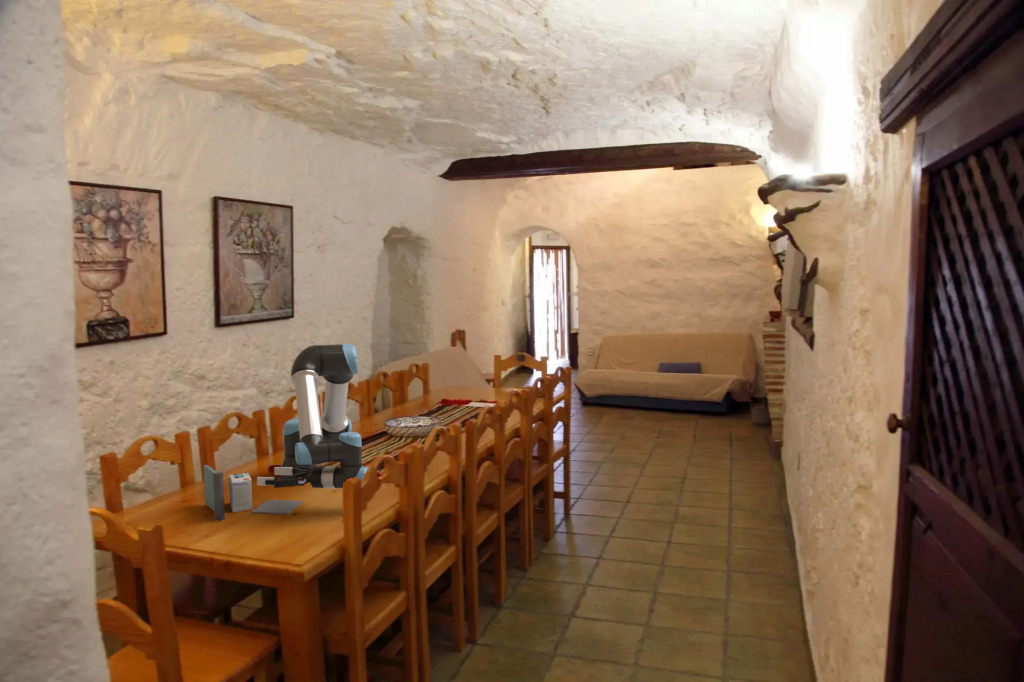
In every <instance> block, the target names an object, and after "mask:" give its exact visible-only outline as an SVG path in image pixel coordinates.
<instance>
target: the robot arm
mask: <svg viewBox="0 0 1024 682" xmlns="http://www.w3.org/2000/svg"><path fill="white" fill-rule="evenodd" d="M357 355H358V354H357V349H356V346H355V345H354V344H351V343H349V344H348V343H342V344H341V343H340V344H338V343H337V344H313V345H310V346H308V347H305V348H303V350H301V351H300V352H299V353H298V355H297V356H296V358H295V359H294V361H293V363H292V366H291V370H290V377H291V379H290V380H291V382H292V383H293V385H294V388H295V389H294V390H295V391H294V392H295V399H296V411H297V412H296V413H297V417H296V418H291V419H289V420H287V421H286V422H284V424H283V433H282V435H283V456H284V457H283V460H282V463H281V466H275V467H273V468H274V469H273V470H274V471H273V472H274V474H273V475H274V476H273V477H271V476H270V477H269V476H268V477H266V476H257V477H256V486H259V487H260V486H265V487H266V486H269V487H271V486H273V487H274V489H279V488H290V487H304V486H305V485H306V484H308V483H310V485H311V487H312V488H314V489H331V490H332V491H333V490H335V489H344V488H343V483H344V482H345V481H346V480H347V479H350V478H354V477H357V478H359V479H360V480H362V479H363V477H364V476H365V474H366V472H367V470H368V469H369V467H367V466H363V458H362V457H363V455H362V454H363V450H362V447H363V445H362V435H361V434H360V433H359V432H356V431H352V427H353V425H352V421H351V419H350V417H348V416H347V415H346V411H347V400H348V394H349V393H348V391H349V384H350V383H349V382H351V380H353V378H354V376H355V375H358V374H359V370H360V369H359V362H358V360H359V359H358V356H357ZM320 377H323V379H324V381H325V392H324V401H323V413H322V414H321V412H320V410H321V409H320V403H319V395H318V384H317V382H319V381H318V380H319V378H320ZM335 462H336V463H337V462H339V466H336V465H331V466H330V465H326V466H324V465H318V464H323V463H324V464H325V463H326V464H327V463H335ZM277 476H281V477H282V478H281V477H278V478H277Z"/></svg>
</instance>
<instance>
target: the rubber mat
mask: <svg viewBox="0 0 1024 682" xmlns="http://www.w3.org/2000/svg"><path fill="white" fill-rule="evenodd" d="M302 502H304V501H303V500H285V499H283V500H282V499H278V500H277V499H267V500H266V501H264V502H263V503H261V504H260V505H258V506H257V507H256V508H255V509H254V508H253V509H252V510H251V514H256V513H262V514H264V515H286V514H287V515H289V514H290V513H291V512H293V511H294V510H295V509H297V508H298V507H299V506H300V505H302V504H303V503H302ZM298 505H299V506H298ZM297 506H298V507H297ZM292 510H293V511H292ZM265 513H267V514H265ZM262 514H261V515H262ZM287 515H286V516H287Z"/></svg>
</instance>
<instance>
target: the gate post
mask: <svg viewBox="0 0 1024 682" xmlns="http://www.w3.org/2000/svg"><path fill="white" fill-rule="evenodd" d="M213 483H214V507H215V512H214V521H215V520H218V521H217V522H223V521H224V520H225V519H226V513H225V512H226V511H225V489H224V487H225V486H224V473H223V472H219V471H217V472H216V473H214V474H213ZM222 520H223V521H222Z"/></svg>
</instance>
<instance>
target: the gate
mask: <svg viewBox="0 0 1024 682" xmlns="http://www.w3.org/2000/svg"><path fill="white" fill-rule="evenodd" d="M216 472H218V471H217V470H215V469H214V468H213V467H212V466H209V465H208V464H205V465H203V482H204V483H203V485H204V488H203V489H204V504H205V505H206V506H208V508H210V509H211V510H212V511H213V512H214V513H215V507H214V483H213V474H214V473H216Z"/></svg>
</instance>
